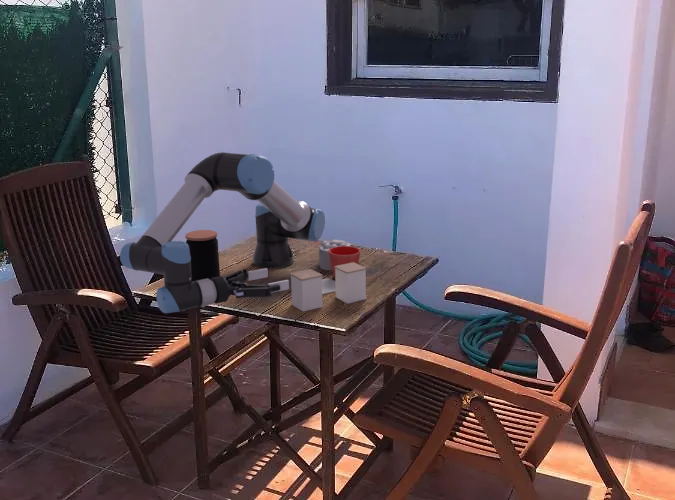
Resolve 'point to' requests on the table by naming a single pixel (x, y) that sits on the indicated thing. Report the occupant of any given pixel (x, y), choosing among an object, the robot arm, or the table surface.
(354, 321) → the table surface
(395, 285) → the table surface
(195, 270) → the coffee jar
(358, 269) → the empty canister
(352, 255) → the flower pot
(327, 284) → the felt mat
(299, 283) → the cover canister
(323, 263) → the lumpy-topped squat cylinder
